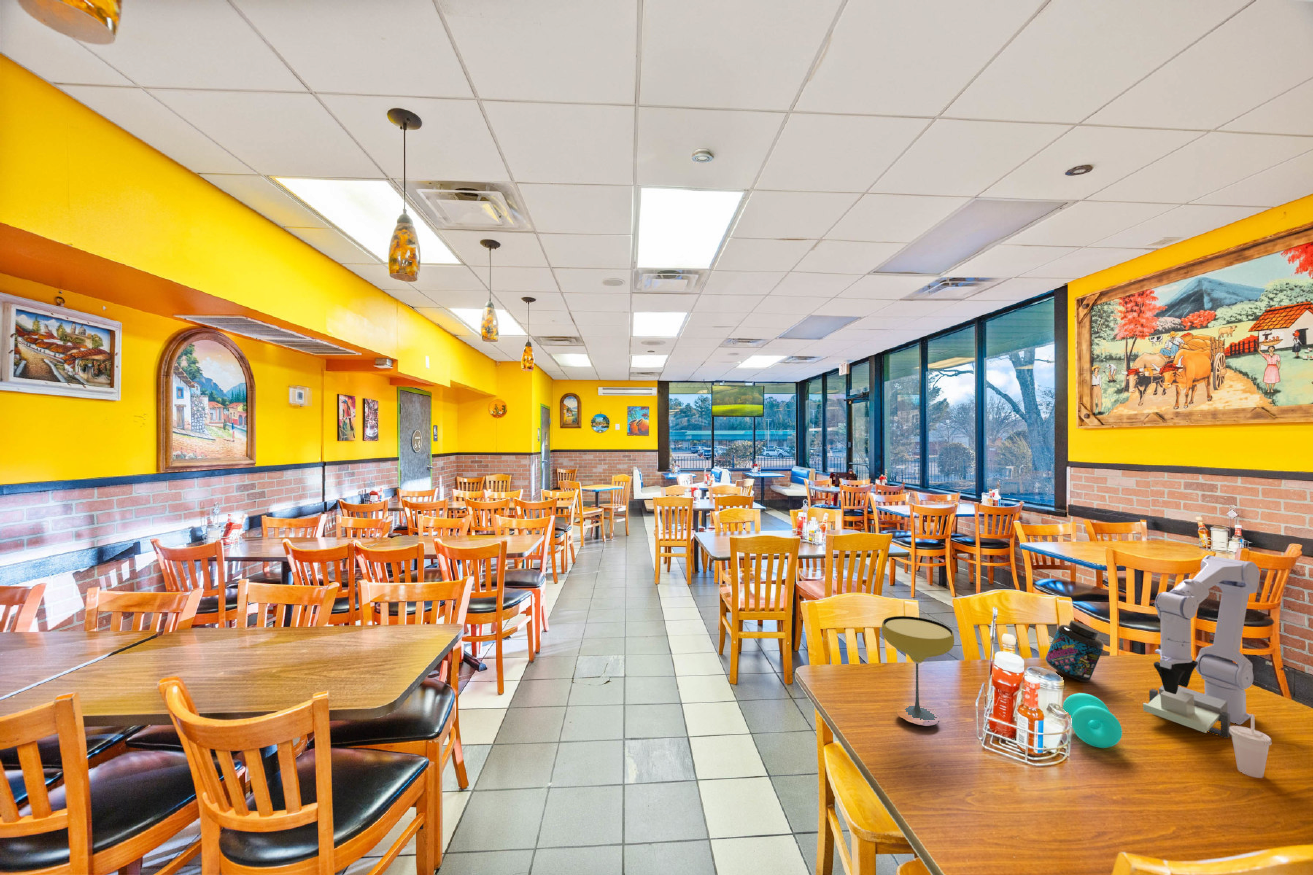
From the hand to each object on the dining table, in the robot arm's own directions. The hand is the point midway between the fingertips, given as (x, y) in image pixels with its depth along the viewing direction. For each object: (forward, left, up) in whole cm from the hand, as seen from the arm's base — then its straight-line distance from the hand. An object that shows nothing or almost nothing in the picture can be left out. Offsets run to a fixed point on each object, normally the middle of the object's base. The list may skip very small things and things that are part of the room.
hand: (1176, 688), depth 135 cm
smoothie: (+12, +16, -11) cm, 22 cm away
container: (-10, -27, -11) cm, 31 cm away
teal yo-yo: (+27, -8, -11) cm, 30 cm away
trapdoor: (-5, +1, -5) cm, 8 cm away
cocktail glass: (+57, -36, -11) cm, 68 cm away
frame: (-5, +1, -10) cm, 12 cm away
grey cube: (+1, 0, -6) cm, 6 cm away
